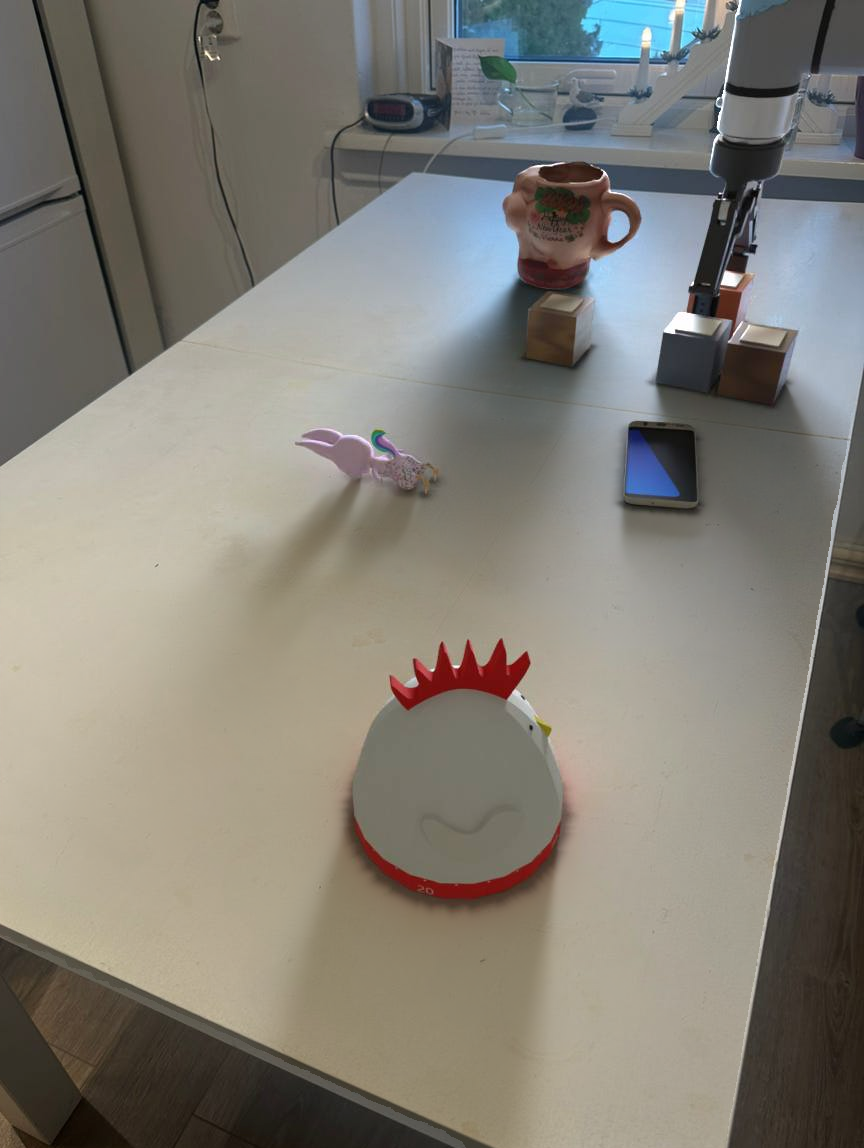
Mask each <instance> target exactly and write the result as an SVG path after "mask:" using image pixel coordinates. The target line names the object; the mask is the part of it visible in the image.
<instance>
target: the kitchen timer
mask: <svg viewBox="0 0 864 1148" xmlns="http://www.w3.org/2000/svg"><path fill="white" fill-rule="evenodd" d="M507 655H508V654H507V649H506V646H505V642H504V638H503V637H501V638H499V639H498V641H497V643H496V645H495V646H494V649H493V651H492V653H491V655H490V658H489V660H488V662H487V663H486V664H484V665H479V664H478V661H477V658H476V657H477V656H476V652H475V650H474V647H473V644H472V642H471V640H470V638H467V639H466V642H465V646H464V651H463V655H462V660H461V663H460V665H453V663H452V660H451V656H450V654H449V651H448V648H447V645H446V644H445V642H444V641H443V640H442V641H441V642H440V643H439V646H438V653H437V657H436V664H435V667H434V668H432V669H428V668H427V667H426V666H425V665H424V664H423V663H422V662H421V661H420V660H419V659H418V658H416V657H414V658H413V659H412V665H413V671H414V677H412V678H411V679H408V680H406V681H405V682H404V683H401V682H400V681H399V680H398V679H397V678H396V677H394V676H393V675H392V674H389V675H388V678H389V685H390V690H391V692H392V695H390V697H389V698H388V699H387V700H386V702H385V703H384V704H383V706H382V707H381V709H380V710H379V712H378V713H377V714H376V715H375V717H374V718H373V720H372V721H371V723H370V726H369V728H368V730H367V733H366V737H365V739H364V741H363V745H362V747H361V751H360V754H359V758H358V761H357V765H356V768H355V772H354V774H353V780H352V802H353V803H352V805H353V816H354V823H355V831H356V834H357V836H358V839H359V840H360V842H361V845H362V847H363V849H364V852H365V854H366V855H367V856H368V858H370V859H371V860H372V861H373V863H374V864H376V866H377V867H378V868H379V870H381V872H383V874H385V876H387V877H389V878H390V879H392V880H394V881H396V882H397V883H400V884H401V885H402V886H404V887H406V888H407V889H409V890H412V891H415V892H418V893H421V894H425V895H428V896H431V897H432V896H433V897H435V898H439V899H464V900H465V899H467V900H468V899H471V900H474V899H477V898H482V897H486V896H490V895H495V894H499V893H502V892H505V891H507V890H509V889H511V888H512V887H514V886H517V885H518V884H520V883H522V882H524V881H525V880H527V879H529V878H530V877H532V875H533V874H534V873H535V872H536V871H537V870H538V869H539V868H540V867H541V866H542V865H543V864H544V863H545V861H547V859H549V858H550V855H551V853H552V851H553V848H554V846H555V844H556V842H557V840H558V839H559V836H560V831H561V824H562V816H563V815H562V814H563V800H564V786H563V779H562V776H561V772H560V769H559V765H558V761H557V758H556V755H555V752H554V751H555V750H554V748H553V745H552V742H551V739H550V734H551V733H552V731H553V728H552V726H551V725H549V724H548V723H547V722H545V721H544V720H542V719H541V718H540V717H539V715H538V714H537V713H536V711H535V710H534V709H533V707H532V706H531V704H530V703H529V701H528V700H527V699H526V697H524V695H523V694H522V693H521V692H520V691H518V690H517V689H516V688H517V687H518V685H519V684H520V683H521V681H523V679H524V677H525V676H526V674H527V672H528V671H529V669H530V667H531V664H532V663H531V661H532V660H531V658H530V655H529V652H528V650H526V651H524V652H523V653H522V654H521V655H519V657H518V658H517V659H516V660H515V661H514V662H512V663H511V664H507V663H508V660H507V659H508V657H507Z"/></svg>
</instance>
